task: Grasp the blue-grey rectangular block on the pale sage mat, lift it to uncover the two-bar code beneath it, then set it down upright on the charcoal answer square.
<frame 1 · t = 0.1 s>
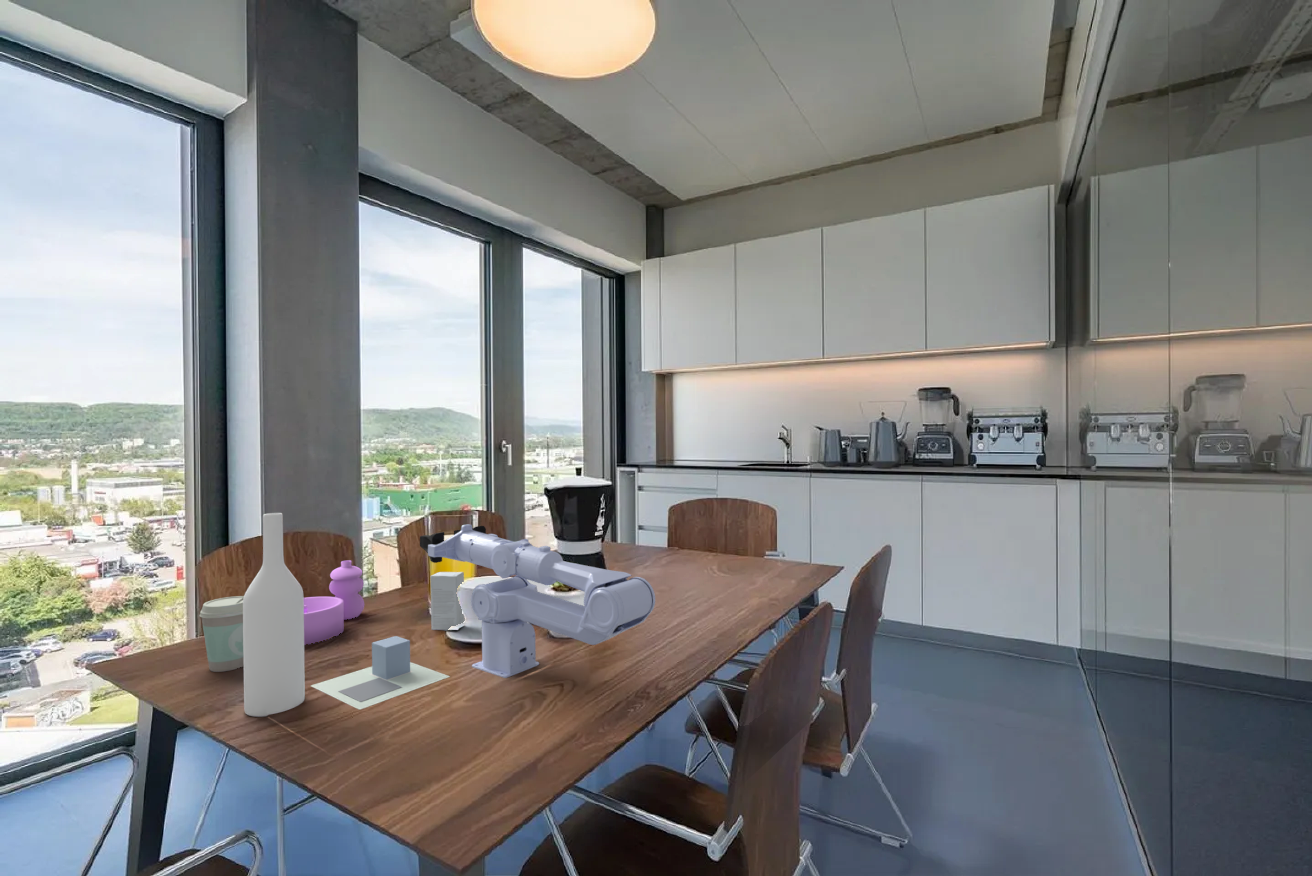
hand: (438, 538, 124), 22 cm above the table, tool horizontal, fingers open, 7 cm apart
blue-grey rectangular block: (391, 672, 109), resting on code mat
bottle: (275, 707, 97), on the table
skincare box: (448, 629, 136), on the table
container set: (320, 629, 137), on the table
code mat: (381, 682, 106), on the table
coffee cup: (228, 667, 114), on the table
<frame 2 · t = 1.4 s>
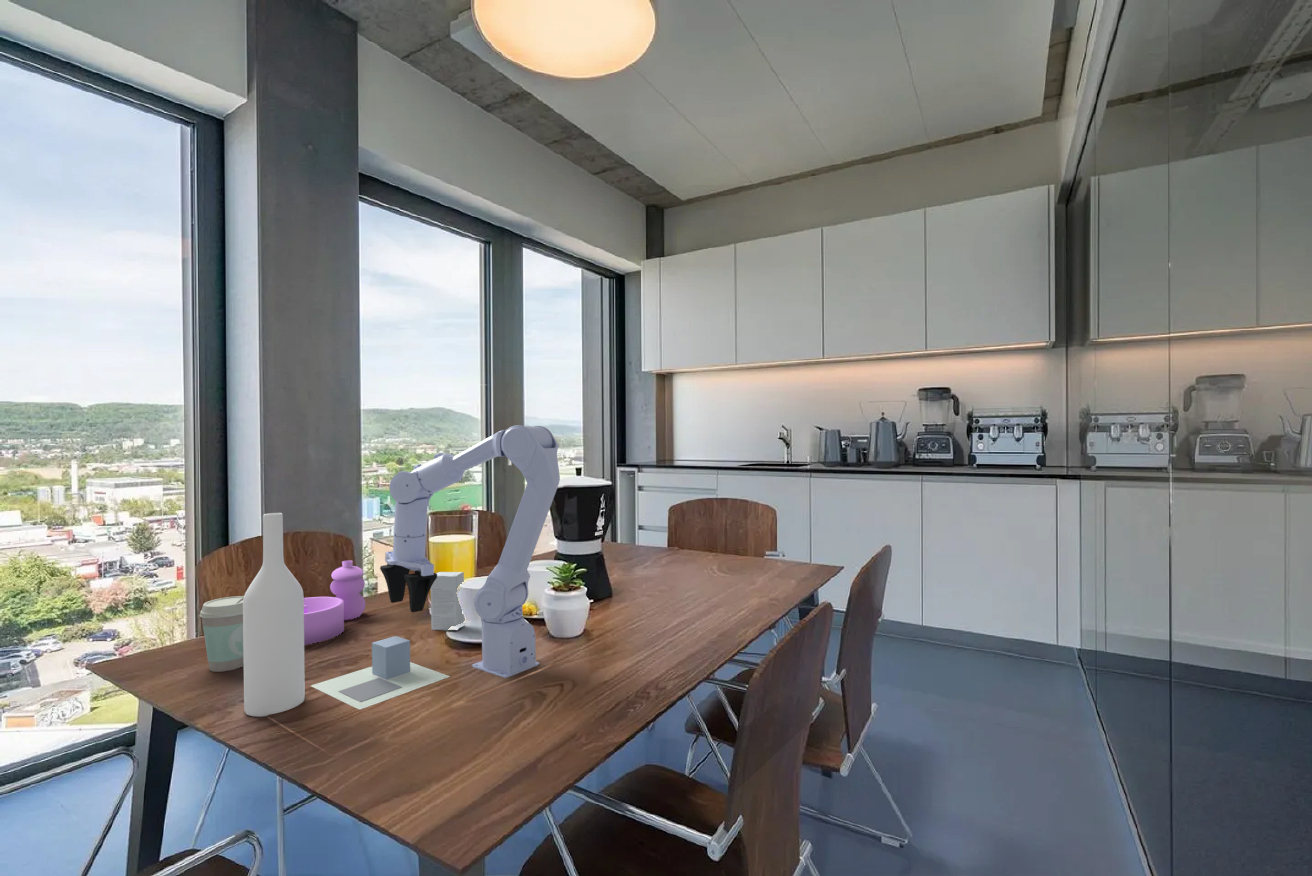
hand: (406, 606, 117), 10 cm above the table, tool pointing down, fingers open, 7 cm apart
nothing on the table moved.
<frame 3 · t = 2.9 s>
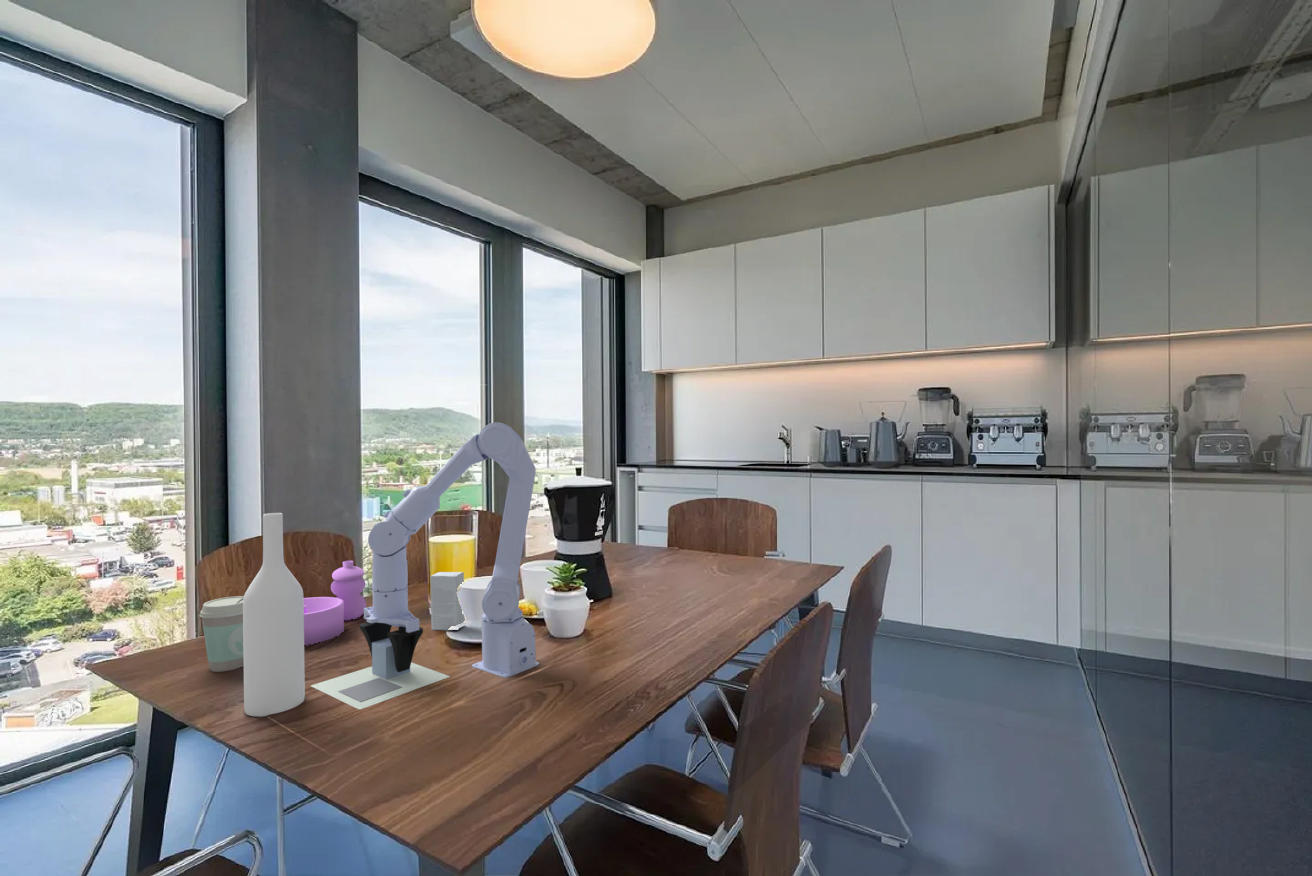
hand: (391, 665, 109), 2 cm above the table, tool pointing down, fingers open, 7 cm apart
nothing on the table moved.
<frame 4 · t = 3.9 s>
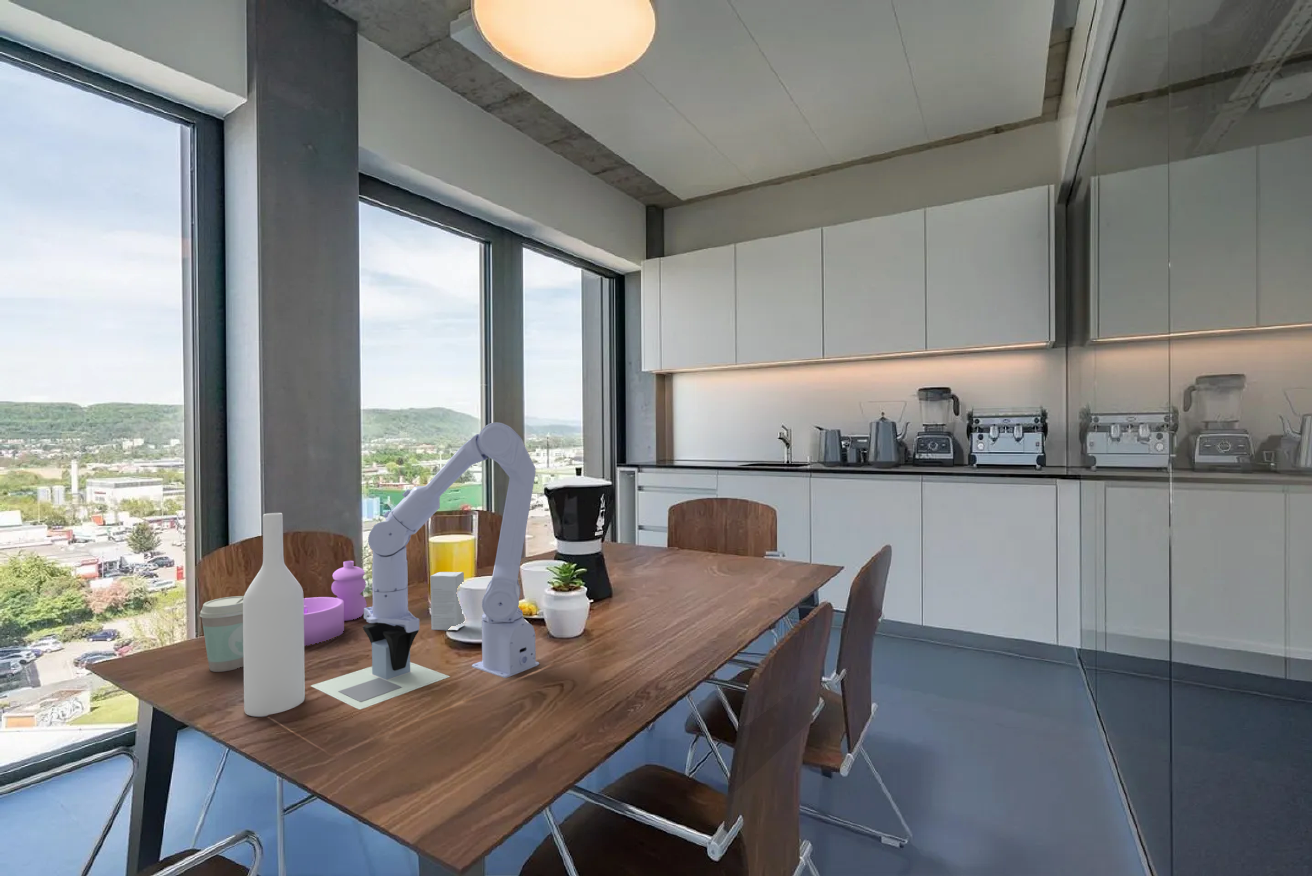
hand: (391, 665, 109), 2 cm above the table, tool pointing down, fingers closed on blue-grey rectangular block, 4 cm apart
blue-grey rectangular block: (391, 672, 109), resting on code mat, touching gripper
everything else where it was.
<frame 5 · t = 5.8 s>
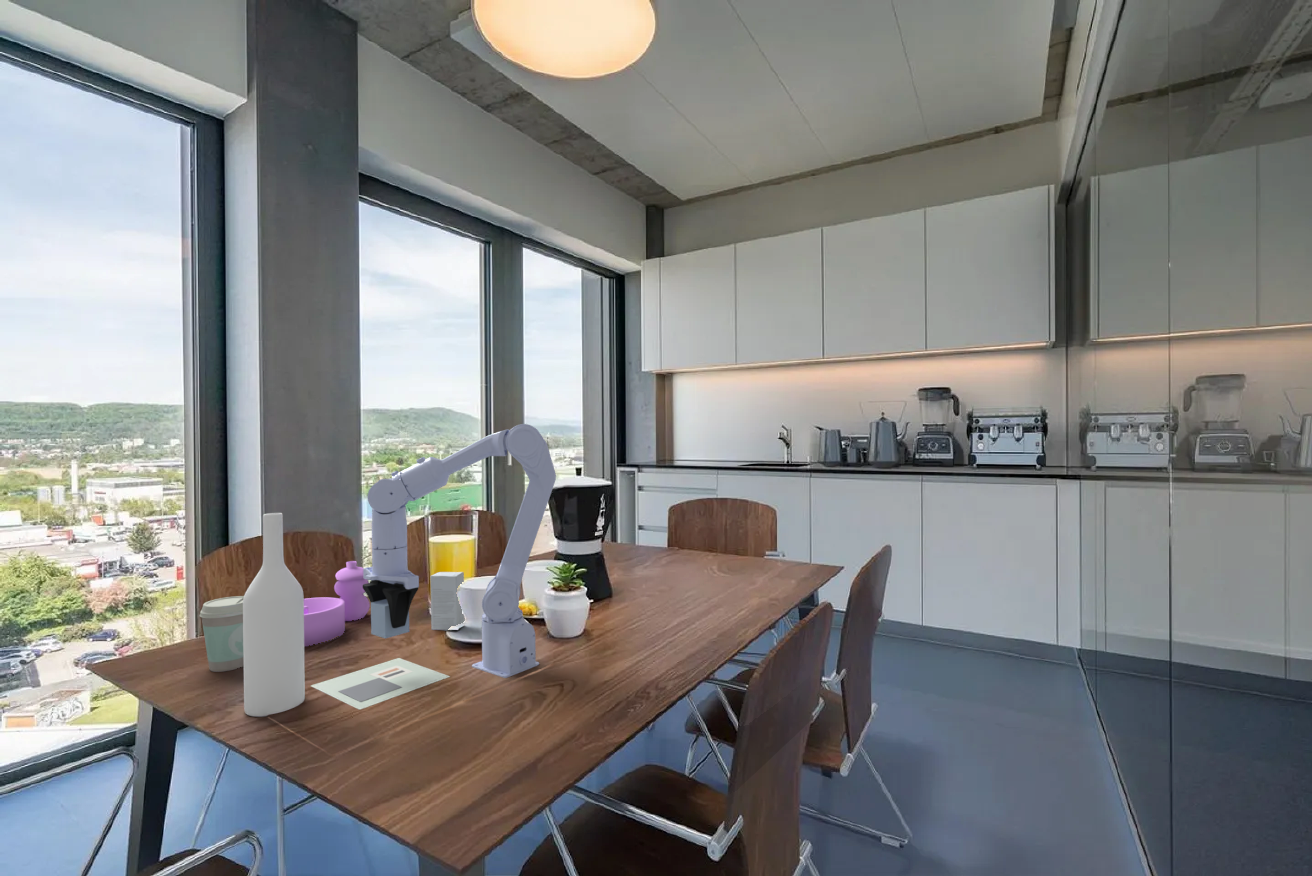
hand: (390, 624, 109), 9 cm above the table, tool pointing down, fingers closed on blue-grey rectangular block, 4 cm apart
blue-grey rectangular block: (390, 632, 109), point 7 cm above the table, touching gripper
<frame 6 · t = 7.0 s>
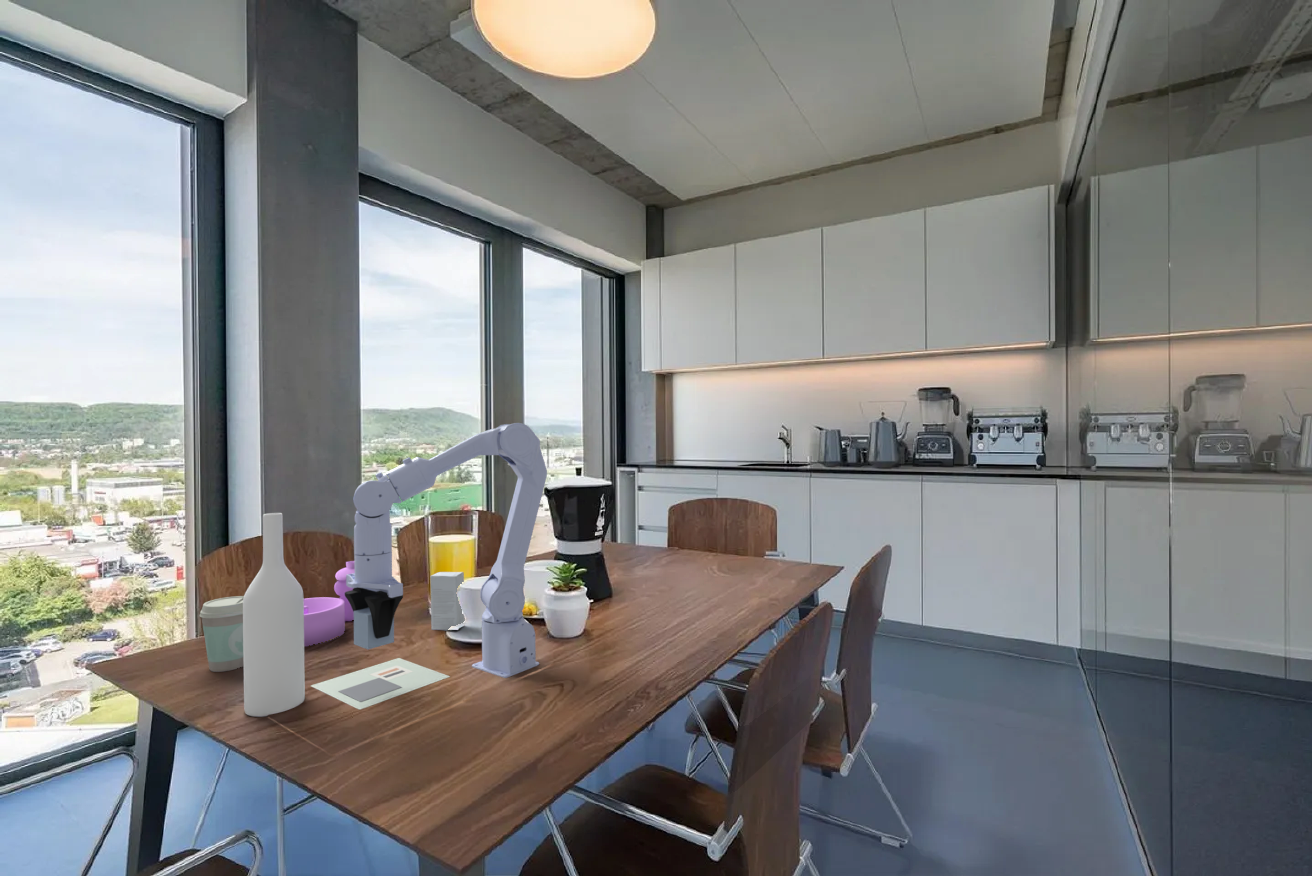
hand: (374, 634, 104), 9 cm above the table, tool pointing down, fingers closed on blue-grey rectangular block, 4 cm apart
blue-grey rectangular block: (374, 643, 104), point 7 cm above the table, touching gripper
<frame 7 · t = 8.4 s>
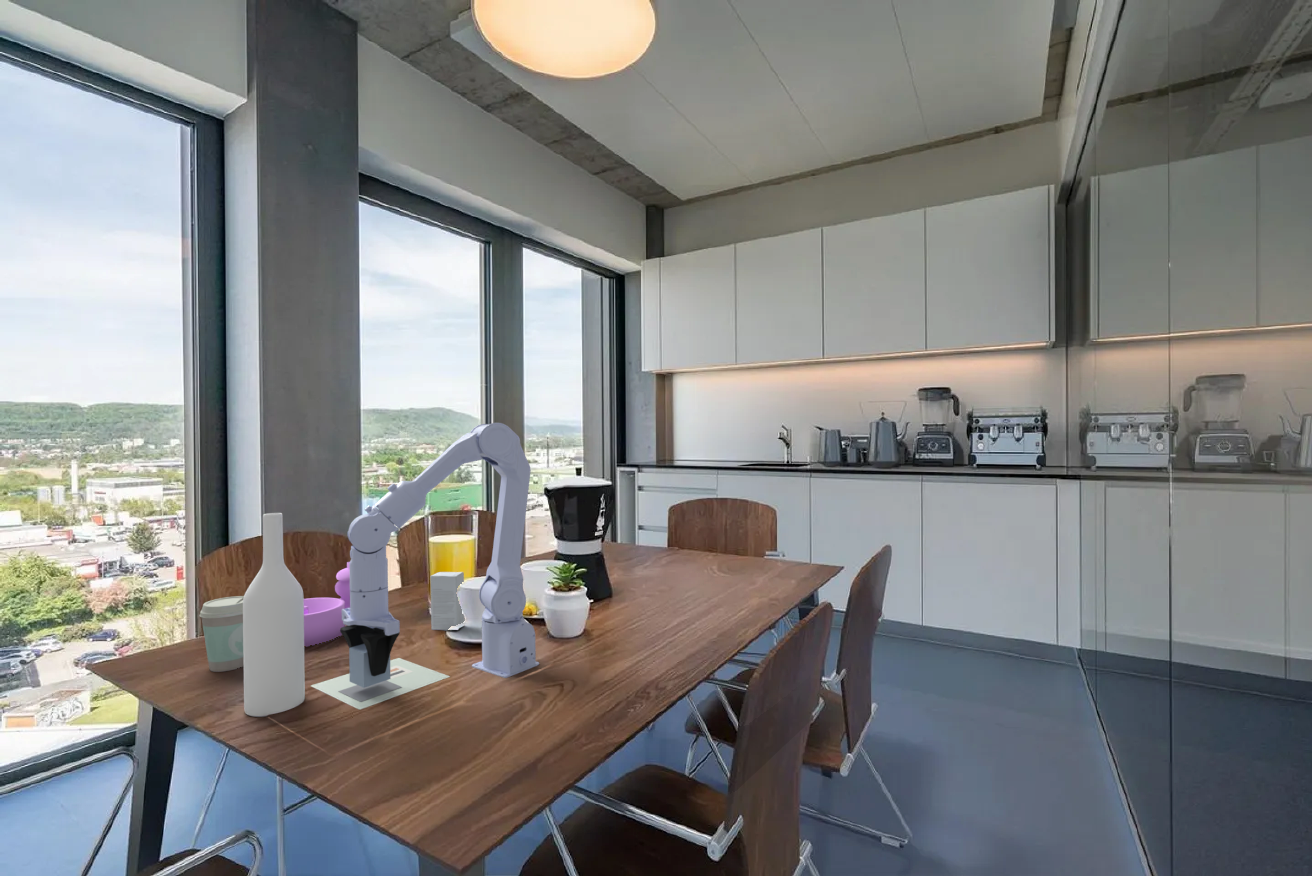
hand: (370, 670, 102), 3 cm above the table, tool pointing down, fingers closed on blue-grey rectangular block, 4 cm apart
blue-grey rectangular block: (370, 680, 102), point 2 cm above the table, touching gripper
when the fingers open (3 cm above the table, at t = 9.0 s): blue-grey rectangular block drops 1 cm, resting on code mat.
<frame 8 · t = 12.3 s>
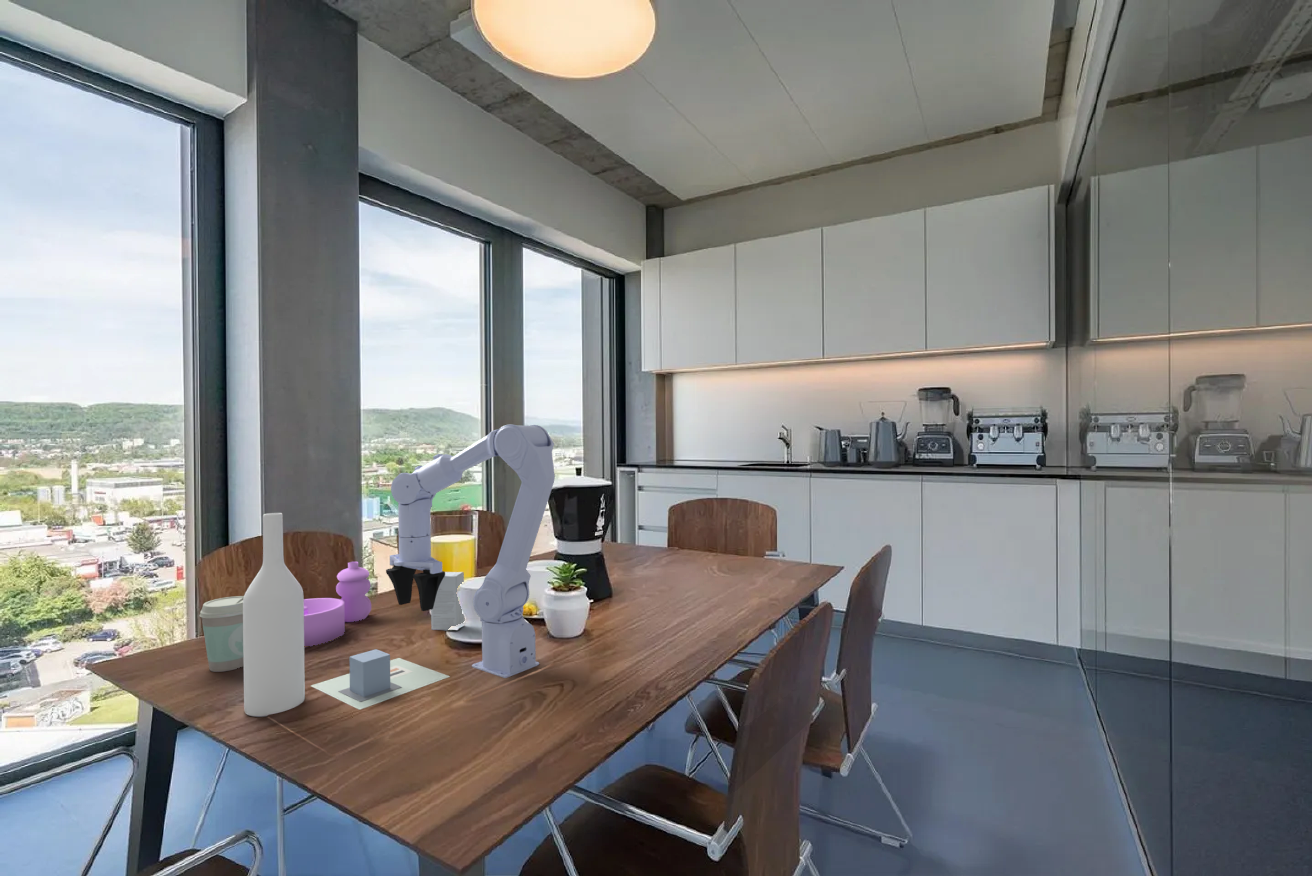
hand: (415, 606, 119), 9 cm above the table, tool pointing down, fingers open, 7 cm apart
blue-grey rectangular block: (370, 689, 102), resting on code mat
at the end: blue-grey rectangular block 0.0 cm from the target spot, resting on code mat; blue-grey rectangular block tilted 0°; the gripper is holding nothing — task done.
